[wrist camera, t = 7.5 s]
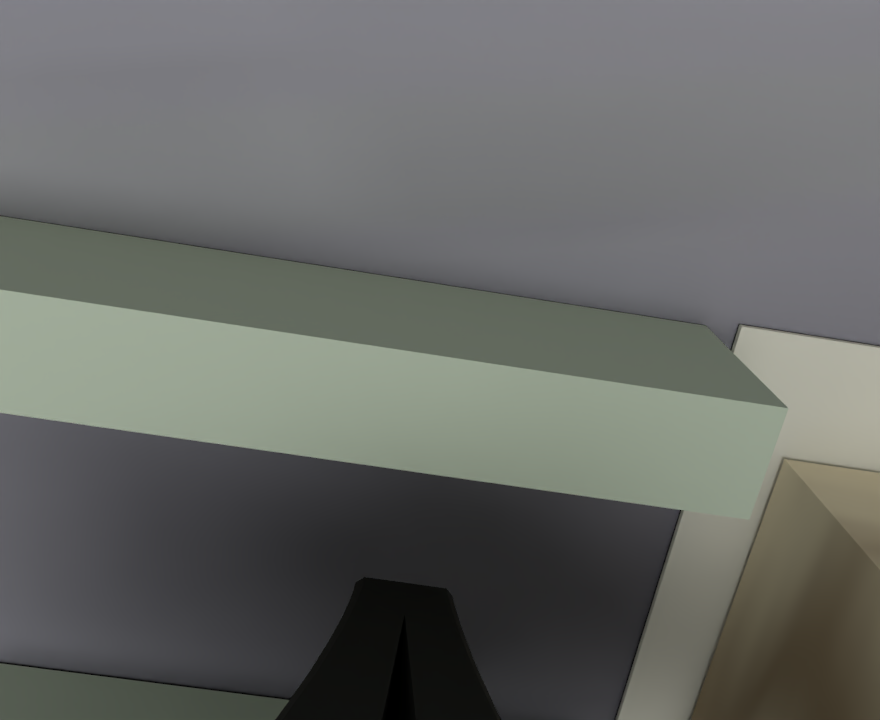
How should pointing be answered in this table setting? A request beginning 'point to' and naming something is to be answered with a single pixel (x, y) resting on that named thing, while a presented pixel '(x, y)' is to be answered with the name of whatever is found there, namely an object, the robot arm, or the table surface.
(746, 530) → the mat
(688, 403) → the rails
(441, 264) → the table surface
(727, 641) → the birch block
